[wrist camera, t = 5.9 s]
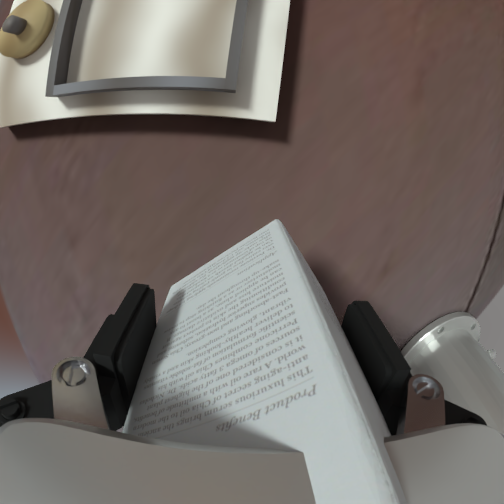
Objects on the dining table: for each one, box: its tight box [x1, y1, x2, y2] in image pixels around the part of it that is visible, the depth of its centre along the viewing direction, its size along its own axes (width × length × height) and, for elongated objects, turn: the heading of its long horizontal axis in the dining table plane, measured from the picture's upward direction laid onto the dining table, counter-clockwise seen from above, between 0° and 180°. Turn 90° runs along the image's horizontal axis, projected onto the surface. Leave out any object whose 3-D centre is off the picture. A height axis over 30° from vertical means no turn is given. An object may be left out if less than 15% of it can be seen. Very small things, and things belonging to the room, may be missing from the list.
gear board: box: [0, 0, 290, 128], centre depth 12 cm, size 20×14×5 cm
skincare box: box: [122, 219, 407, 504], centre depth 8 cm, size 6×4×12 cm
